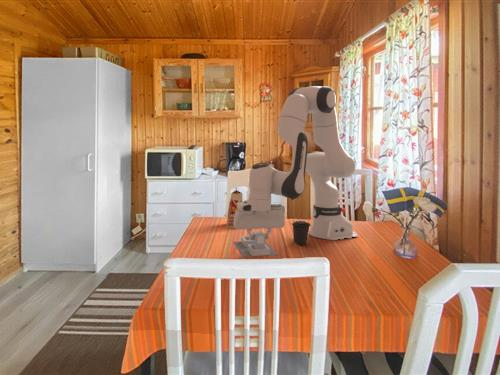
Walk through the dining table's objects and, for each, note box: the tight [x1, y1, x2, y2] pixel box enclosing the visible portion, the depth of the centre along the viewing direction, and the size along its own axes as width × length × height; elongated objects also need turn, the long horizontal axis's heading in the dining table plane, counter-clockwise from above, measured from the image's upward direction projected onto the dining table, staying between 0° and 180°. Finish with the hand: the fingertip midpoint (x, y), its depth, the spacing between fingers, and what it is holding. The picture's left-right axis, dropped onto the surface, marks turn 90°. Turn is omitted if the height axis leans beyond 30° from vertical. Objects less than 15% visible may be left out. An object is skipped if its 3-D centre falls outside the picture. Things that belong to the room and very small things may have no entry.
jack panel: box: [233, 235, 279, 258], centre depth 165 cm, size 14×20×4 cm
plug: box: [252, 231, 266, 249], centre depth 159 cm, size 4×5×8 cm
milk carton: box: [226, 187, 244, 229], centre depth 203 cm, size 9×9×20 cm
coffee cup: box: [291, 220, 311, 247], centre depth 175 cm, size 8×8×10 cm
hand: (258, 239), depth 159 cm, fingers open, 5 cm apart
